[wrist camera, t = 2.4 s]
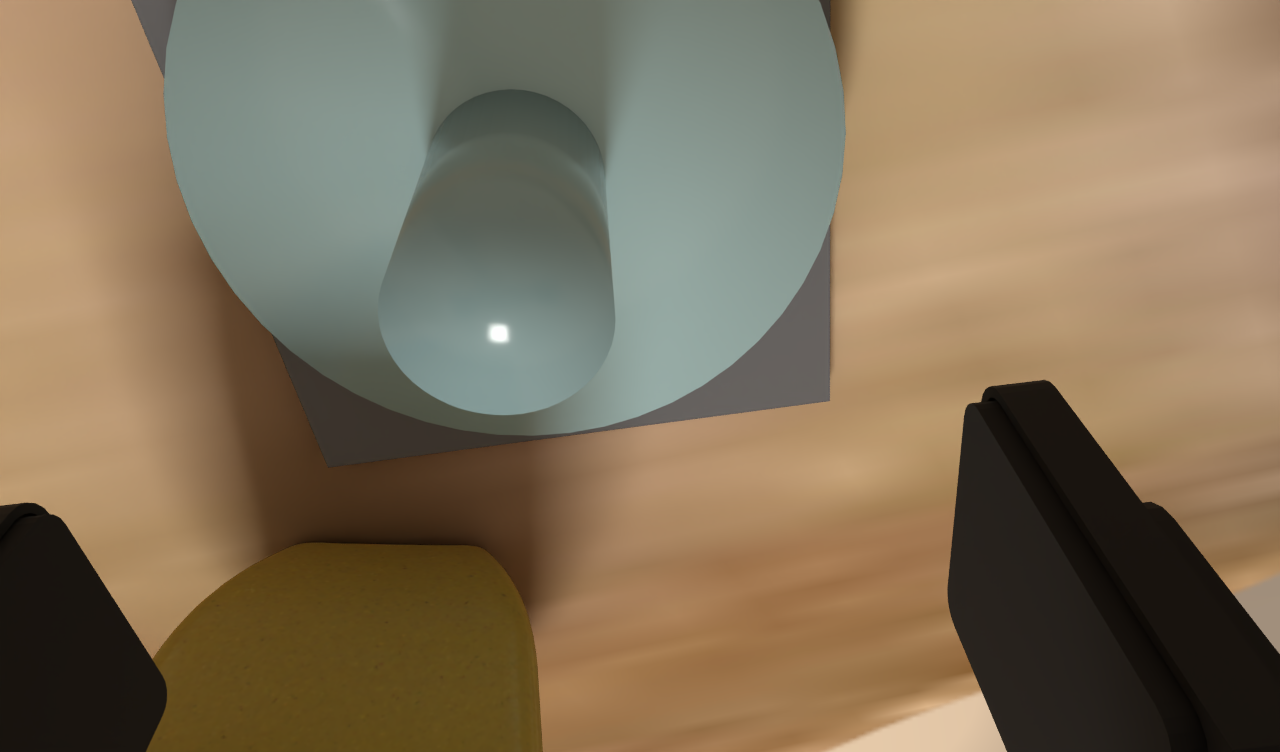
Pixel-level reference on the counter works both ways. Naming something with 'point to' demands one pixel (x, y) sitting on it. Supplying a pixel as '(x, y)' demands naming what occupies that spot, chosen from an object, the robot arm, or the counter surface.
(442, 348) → the lid
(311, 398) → the mat
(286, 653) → the flower pot
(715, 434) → the counter surface
